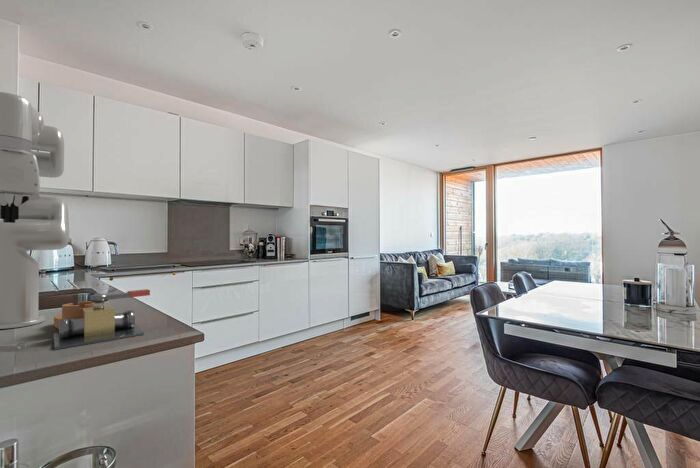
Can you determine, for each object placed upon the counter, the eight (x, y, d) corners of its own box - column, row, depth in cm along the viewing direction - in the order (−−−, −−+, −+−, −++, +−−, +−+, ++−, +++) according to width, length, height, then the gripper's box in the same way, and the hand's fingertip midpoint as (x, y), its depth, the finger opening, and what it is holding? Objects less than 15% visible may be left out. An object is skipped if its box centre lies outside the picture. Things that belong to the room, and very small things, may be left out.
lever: (92, 302, 87) (92, 296, 87) (89, 300, 90) (89, 294, 90) (150, 295, 98) (150, 290, 98) (146, 293, 100) (146, 288, 100)
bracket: (103, 327, 94) (103, 302, 95) (65, 333, 88) (66, 307, 88) (85, 319, 106) (85, 297, 106) (51, 324, 99) (51, 301, 99)
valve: (53, 335, 88) (53, 301, 88) (132, 323, 101) (133, 294, 101) (54, 349, 77) (55, 311, 77) (143, 334, 90) (144, 301, 90)
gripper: (-36, 137, 72) (-36, 221, 72) (54, 151, 84) (54, 223, 84) (-40, 142, 76) (-40, 221, 77) (46, 154, 88) (45, 223, 89)
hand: (9, 222), depth 80 cm, fingers closed
